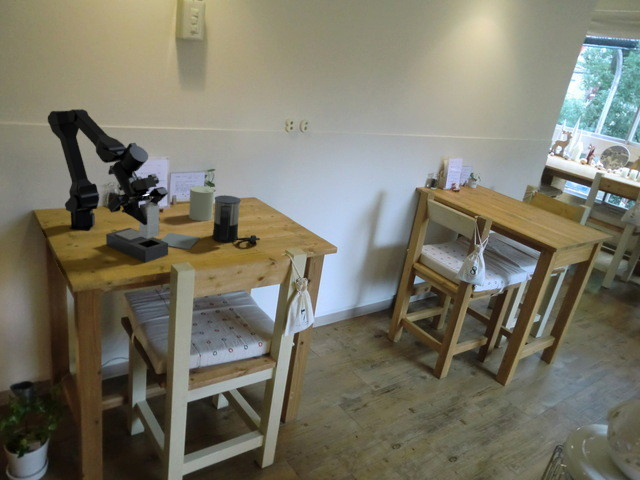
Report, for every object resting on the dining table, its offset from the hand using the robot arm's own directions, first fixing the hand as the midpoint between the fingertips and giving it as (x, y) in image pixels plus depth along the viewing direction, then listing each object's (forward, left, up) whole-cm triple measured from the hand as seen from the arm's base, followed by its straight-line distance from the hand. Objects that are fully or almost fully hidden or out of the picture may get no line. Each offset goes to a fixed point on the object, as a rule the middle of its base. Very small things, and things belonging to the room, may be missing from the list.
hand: (152, 222), depth 149 cm
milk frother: (+25, +19, -12) cm, 34 cm away
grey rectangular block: (-1, +1, -5) cm, 5 cm away
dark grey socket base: (-5, +4, -11) cm, 13 cm away
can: (+11, +41, -12) cm, 44 cm away
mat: (+6, +14, -11) cm, 19 cm away
